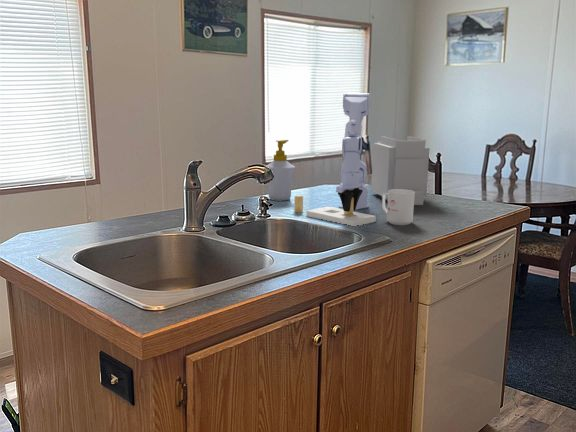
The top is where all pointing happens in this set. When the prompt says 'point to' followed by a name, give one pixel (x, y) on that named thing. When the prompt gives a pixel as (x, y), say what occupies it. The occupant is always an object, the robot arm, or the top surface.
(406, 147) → the light grey angular block
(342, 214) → the housing
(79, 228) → the top surface
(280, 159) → the soap bottle
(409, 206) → the mug
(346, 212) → the peg
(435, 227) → the top surface
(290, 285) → the top surface
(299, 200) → the peg
